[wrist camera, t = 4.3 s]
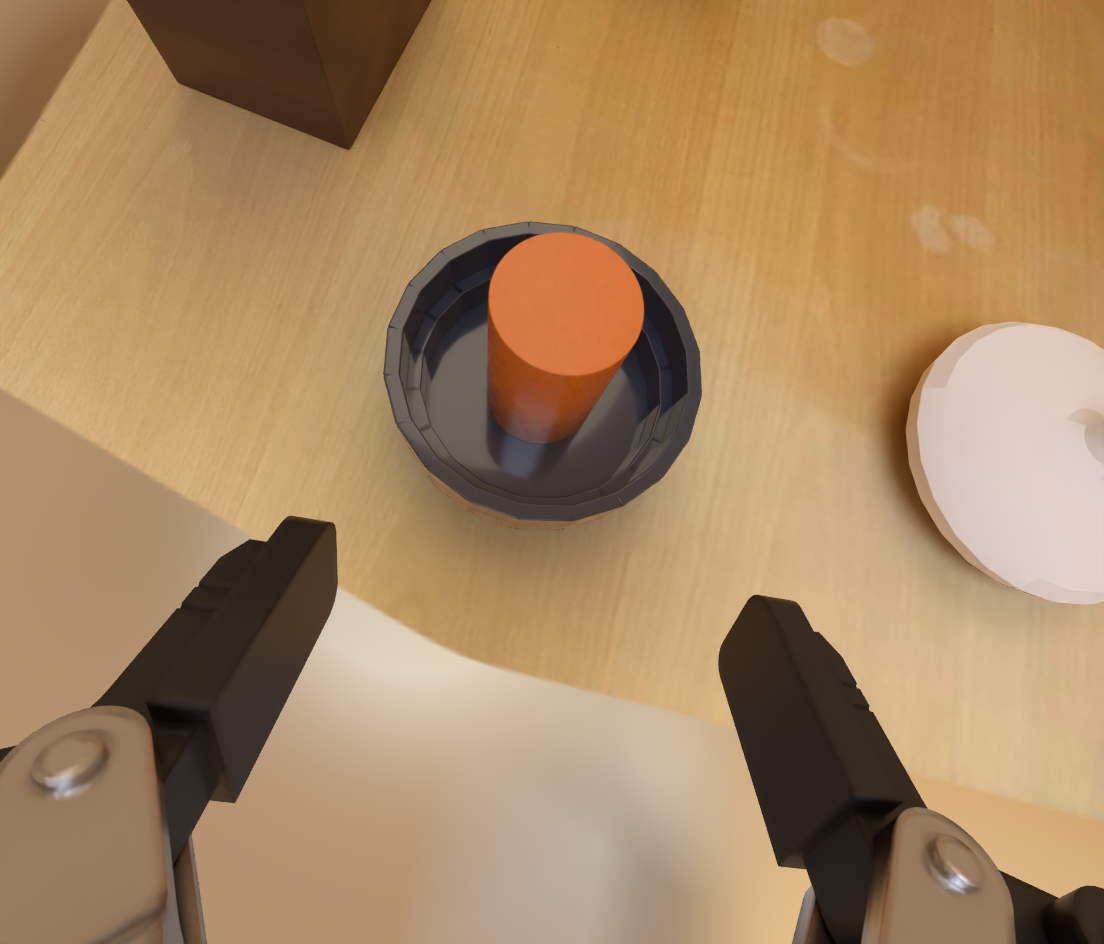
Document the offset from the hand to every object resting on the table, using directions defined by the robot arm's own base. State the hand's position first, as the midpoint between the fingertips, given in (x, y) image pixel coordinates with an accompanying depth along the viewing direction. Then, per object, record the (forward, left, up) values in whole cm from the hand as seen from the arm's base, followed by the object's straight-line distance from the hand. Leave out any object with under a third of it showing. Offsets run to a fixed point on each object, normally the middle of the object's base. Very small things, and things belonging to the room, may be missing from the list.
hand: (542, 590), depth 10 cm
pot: (+10, +2, -15) cm, 18 cm away
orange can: (+10, +2, -15) cm, 18 cm away
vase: (+16, -25, -16) cm, 34 cm away
